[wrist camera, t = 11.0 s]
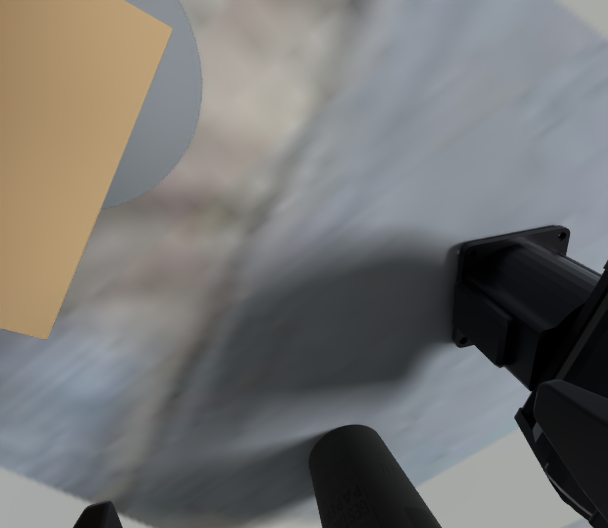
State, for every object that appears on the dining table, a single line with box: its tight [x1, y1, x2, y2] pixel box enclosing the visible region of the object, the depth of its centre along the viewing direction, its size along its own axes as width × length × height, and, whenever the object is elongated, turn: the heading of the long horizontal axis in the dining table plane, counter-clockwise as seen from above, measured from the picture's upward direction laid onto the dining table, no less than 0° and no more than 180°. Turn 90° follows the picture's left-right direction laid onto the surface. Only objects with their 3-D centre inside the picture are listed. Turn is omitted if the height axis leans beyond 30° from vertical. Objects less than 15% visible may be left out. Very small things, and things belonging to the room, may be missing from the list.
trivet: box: [101, 0, 202, 209], centre depth 16 cm, size 10×10×1 cm
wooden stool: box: [0, 0, 173, 340], centre depth 11 cm, size 6×6×10 cm
